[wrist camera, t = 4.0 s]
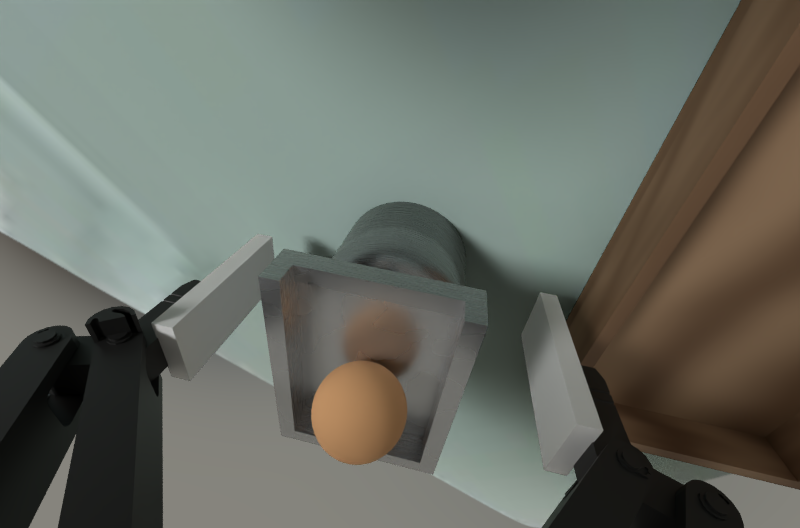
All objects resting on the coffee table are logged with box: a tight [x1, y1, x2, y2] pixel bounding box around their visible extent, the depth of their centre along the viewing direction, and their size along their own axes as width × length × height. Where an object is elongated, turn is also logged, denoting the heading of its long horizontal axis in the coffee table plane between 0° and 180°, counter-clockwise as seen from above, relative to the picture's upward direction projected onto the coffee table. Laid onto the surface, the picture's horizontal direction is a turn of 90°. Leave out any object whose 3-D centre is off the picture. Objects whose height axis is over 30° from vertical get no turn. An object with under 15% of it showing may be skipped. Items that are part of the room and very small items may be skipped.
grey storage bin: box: [258, 202, 488, 474], centre depth 15 cm, size 6×8×8 cm
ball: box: [311, 361, 407, 465], centre depth 11 cm, size 3×3×3 cm
